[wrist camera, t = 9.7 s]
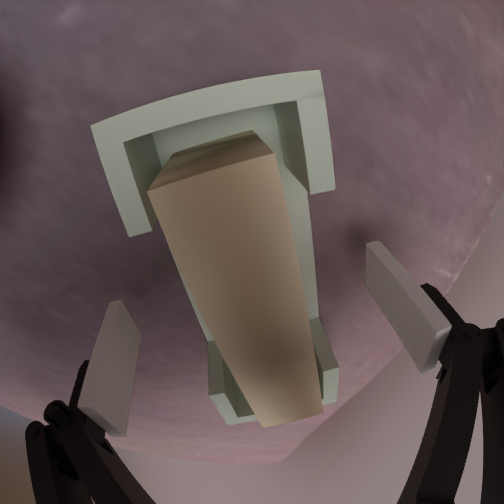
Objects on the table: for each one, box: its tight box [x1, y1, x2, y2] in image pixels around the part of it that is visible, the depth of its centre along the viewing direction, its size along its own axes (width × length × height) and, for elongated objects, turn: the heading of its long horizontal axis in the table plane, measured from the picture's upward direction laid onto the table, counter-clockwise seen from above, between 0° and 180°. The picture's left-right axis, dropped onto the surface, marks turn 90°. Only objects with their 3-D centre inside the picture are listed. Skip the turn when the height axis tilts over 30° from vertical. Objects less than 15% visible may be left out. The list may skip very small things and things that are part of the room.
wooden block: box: [147, 130, 323, 428], centre depth 15 cm, size 4×16×6 cm, turn 14°
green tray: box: [91, 70, 339, 425], centre depth 16 cm, size 8×20×5 cm, turn 11°
